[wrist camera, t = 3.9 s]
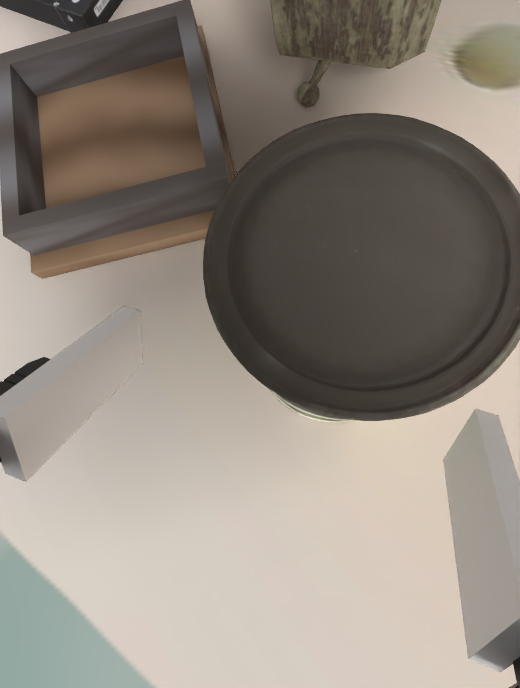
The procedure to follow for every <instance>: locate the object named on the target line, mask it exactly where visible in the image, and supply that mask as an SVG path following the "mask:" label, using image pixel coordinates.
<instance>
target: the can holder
mask: <svg viewBox="0 0 520 688" xmlns="http://www.w3.org/2000/svg"><path fill="white" fill-rule="evenodd" d="M234 177H235V176H234V171H233V166H232V162H231V157H230V152H229V148H228V143H227V139H226V134H225V129H224V125H223V120H222V115H221V111H220V106H219V102H218V97H217V92H216V88H215V83H214V78H213V74H212V69H211V65H210V60H209V55H208V51H207V46H206V41H205V37H204V33H203V30H202V26H198V27H197V24H196V20H195V17H194V13H193V9H192V6H191V2H190V0H182V1H179V2H175V3H172V4H168V5H165V6H162V7H158V8H155V9H151V10H148V11H145V12H141V13H138V14H134V15H131V16H128V17H124V18H121V19H117V20H114V21H111V22H107V23H104V24H100V25H97V26H94V27H90V28H87V29H83V30H80V31H77V32H73V33H70V34H66V35H63V36H59V37H56V38H53V39H49V40H46V41H42V42H39V43H36V44H32V45H29V46H25V47H22V48H19V49H15V50H12V51H8V52H5V53H2V54H0V181H1V201H2V222H3V236H4V237H6V238H8V239H9V240H11V241H12V242H14V243H15V244H17V245H19V246H20V247H22V248H23V249H25V250H26V251H28V252H30V257H31V272H32V273H34V274H35V275H37V276H39V277H41V278H42V279H43V278H47V277H51V276H55V275H59V274H63V273H67V272H71V271H75V270H79V269H83V268H87V267H91V266H95V265H99V264H103V263H107V262H111V261H115V260H119V259H123V258H127V257H131V256H135V255H139V254H143V253H147V252H151V251H155V250H159V249H163V248H167V247H171V246H175V245H179V244H184V243H188V242H192V241H196V240H200V239H204V238H206V235H207V230H208V227H209V223H210V220H211V218H212V215H213V212H214V210H215V208H216V205H217V204H218V202H219V200H220V198H221V197H222V195H223V193H224V191H225V190H226V188H227V187H228V186H229V184H230V183H231V181H232V180H233V179H234Z"/></svg>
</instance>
